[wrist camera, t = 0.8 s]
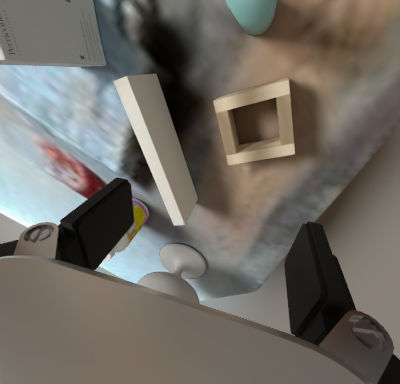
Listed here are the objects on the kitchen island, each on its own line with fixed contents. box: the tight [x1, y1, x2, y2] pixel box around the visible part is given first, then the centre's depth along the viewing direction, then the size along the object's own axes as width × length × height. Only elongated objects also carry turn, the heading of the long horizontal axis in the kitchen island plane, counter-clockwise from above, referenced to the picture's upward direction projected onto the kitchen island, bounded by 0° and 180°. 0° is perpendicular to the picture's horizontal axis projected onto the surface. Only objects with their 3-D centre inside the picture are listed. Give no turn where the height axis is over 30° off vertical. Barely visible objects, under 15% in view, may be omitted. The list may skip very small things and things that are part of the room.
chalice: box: [137, 243, 207, 304], centre depth 45 cm, size 14×14×15 cm
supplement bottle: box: [103, 198, 149, 261], centre depth 41 cm, size 7×7×13 cm
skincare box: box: [0, 0, 107, 67], centre depth 25 cm, size 8×6×15 cm
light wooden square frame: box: [213, 78, 295, 165], centre depth 29 cm, size 9×9×4 cm
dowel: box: [226, 0, 277, 36], centre depth 20 cm, size 4×4×12 cm
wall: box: [113, 74, 198, 226], centre depth 33 cm, size 2×22×8 cm, turn 16°
